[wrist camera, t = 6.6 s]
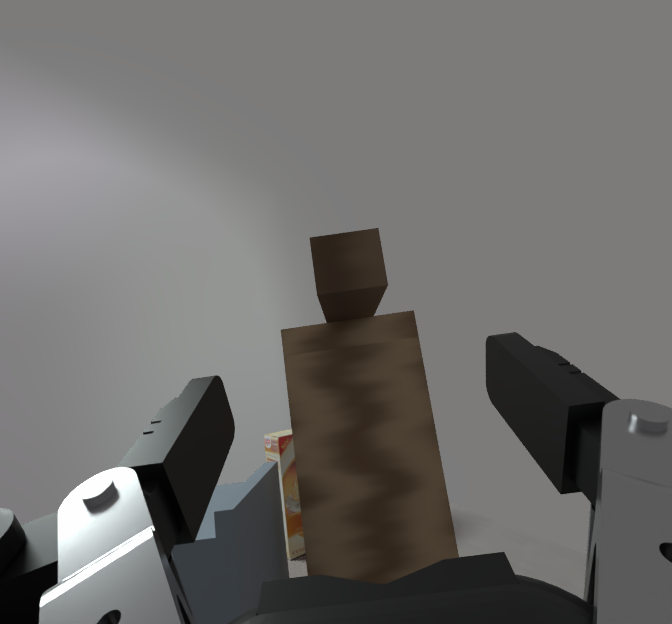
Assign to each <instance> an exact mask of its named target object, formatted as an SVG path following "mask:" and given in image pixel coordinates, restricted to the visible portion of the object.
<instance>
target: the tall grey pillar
mask: <svg viewBox="0 0 672 624" xmlns="http://www.w3.org/2000/svg"><path fill="white" fill-rule="evenodd" d="M171 554H172V556H173V558H174V561H175V563H176V566H177V569H178V571H179V574H180V577H181V580H182V583H183V585H184V588H185V591H186V594H187V597H188V600H189V602H190V605H191V608H192V611H193V614H194V616H195V619H196V622H197V624H227V623H229V622H230V621H232V620H233V619H234V618H236V617H237V616H239V615H241V614H243V613H244V612H246V611H248V610H250V609H252V608H254V607H256V606H258V605H259V599H260V593H261V587H262V582H264V581H272V580H280V579H288V578H289V571H288V561H287V551H286V541H285V531H284V521H283V511H282V501H281V491H280V482H279V472H278V462H277V461H274V462H267V463H264V464H263V465H262V466H261V467H260V468H259V469H258V470H257V471H256V472H255V473H254V474H253V475H252V476H251V477H250V478H249V479H248V480H246V482H240V483H233V484H225V485H217V486H216V487H215V490H214V492H213V495H212V497H211V500H210V503H209V505H208V508H207V511H206V513H205V516H204V519H203V521H202V524H201V527H200V529H199V532H198V534H197V537H196V540H195V542H194V543H188V544H180V545H174V547H173V549H172V552H171Z"/></svg>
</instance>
